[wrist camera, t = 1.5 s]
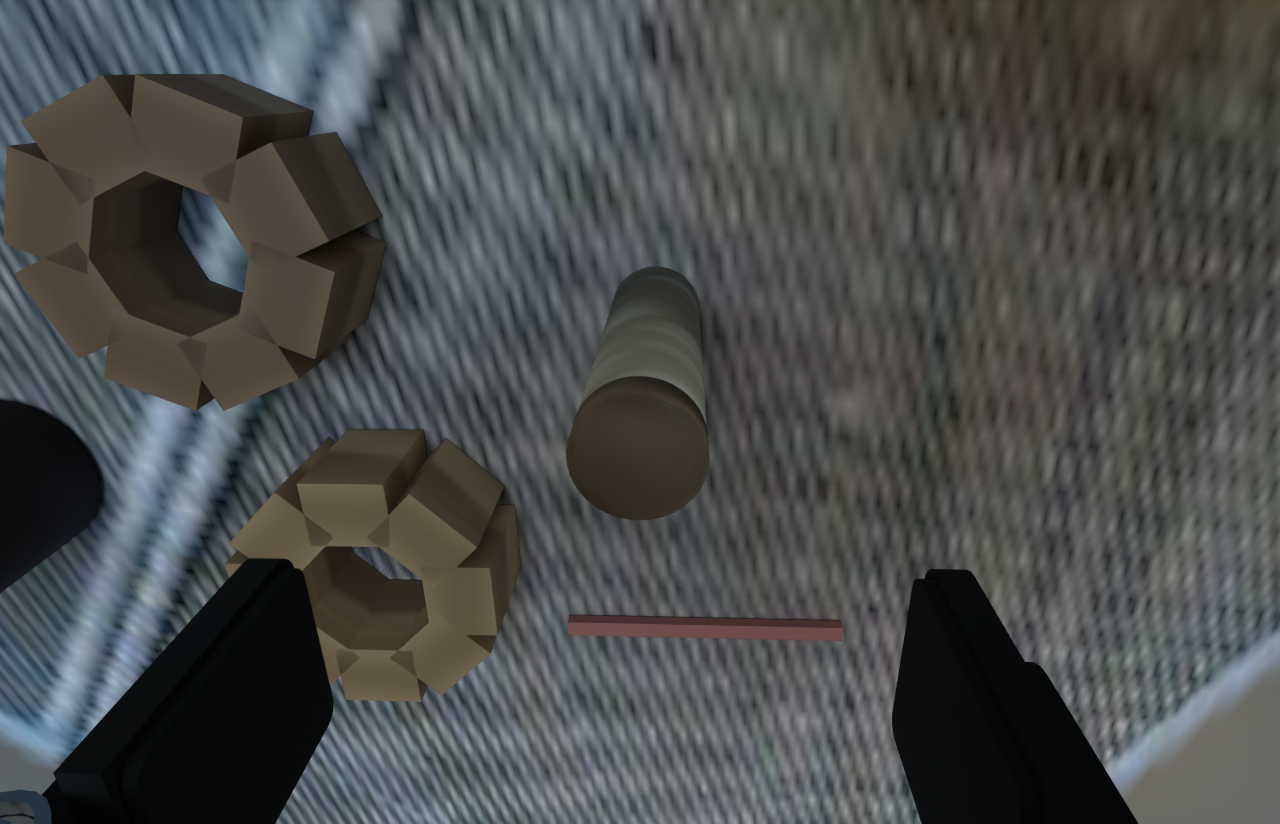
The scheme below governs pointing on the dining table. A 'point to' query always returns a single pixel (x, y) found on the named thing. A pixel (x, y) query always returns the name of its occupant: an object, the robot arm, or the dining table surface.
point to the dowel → (644, 403)
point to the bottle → (40, 489)
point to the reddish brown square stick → (705, 627)
